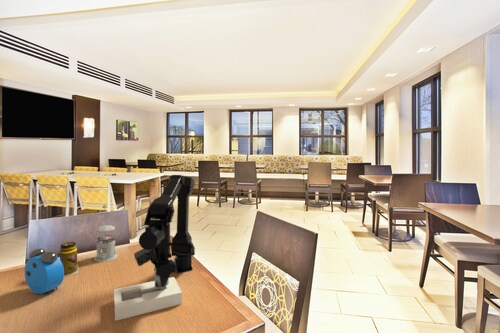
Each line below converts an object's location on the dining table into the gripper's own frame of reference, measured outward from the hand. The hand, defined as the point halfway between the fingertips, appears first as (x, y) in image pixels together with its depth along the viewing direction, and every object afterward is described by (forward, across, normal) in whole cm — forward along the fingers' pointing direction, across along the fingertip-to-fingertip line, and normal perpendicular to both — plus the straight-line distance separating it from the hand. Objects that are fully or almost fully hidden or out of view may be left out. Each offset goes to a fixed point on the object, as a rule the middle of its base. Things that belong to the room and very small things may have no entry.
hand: (161, 283), depth 93 cm
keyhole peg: (+5, 0, 0) cm, 5 cm away
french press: (+6, -48, -18) cm, 51 cm away
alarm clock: (+6, -24, -37) cm, 44 cm away
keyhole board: (+6, 0, -5) cm, 7 cm away
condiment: (+6, -38, -32) cm, 50 cm away
